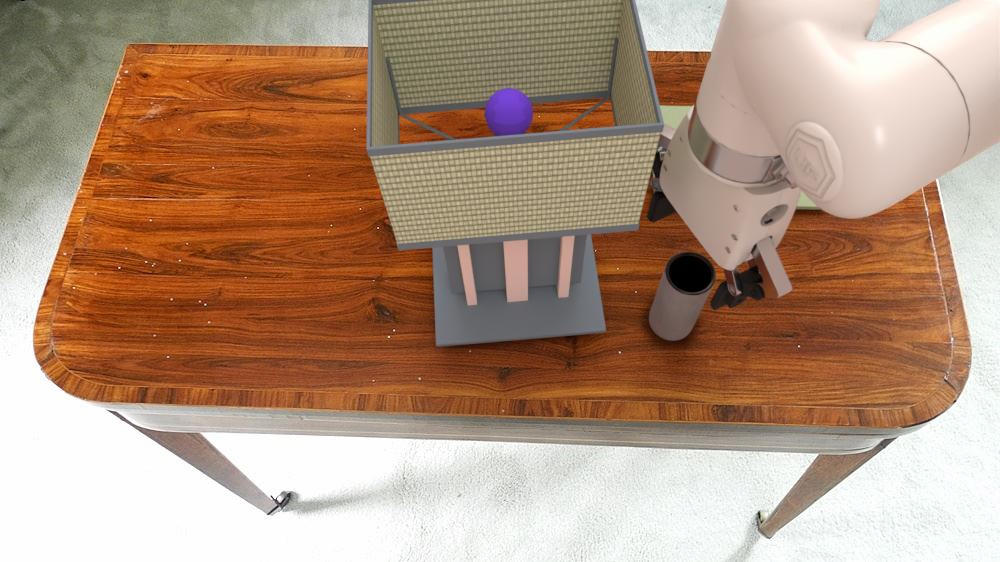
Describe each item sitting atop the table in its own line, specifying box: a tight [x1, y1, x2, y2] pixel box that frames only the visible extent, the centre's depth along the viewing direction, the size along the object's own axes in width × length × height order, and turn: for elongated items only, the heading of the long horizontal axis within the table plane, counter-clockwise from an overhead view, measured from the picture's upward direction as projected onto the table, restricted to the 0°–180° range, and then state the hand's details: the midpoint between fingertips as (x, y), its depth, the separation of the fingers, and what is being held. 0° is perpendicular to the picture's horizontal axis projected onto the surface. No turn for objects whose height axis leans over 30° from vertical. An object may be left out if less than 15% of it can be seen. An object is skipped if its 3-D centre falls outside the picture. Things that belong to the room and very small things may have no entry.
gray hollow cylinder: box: [648, 250, 717, 342], centre depth 69 cm, size 4×4×10 cm
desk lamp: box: [366, 0, 664, 348], centre depth 62 cm, size 18×14×33 cm
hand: (693, 256), depth 63 cm, fingers open, 9 cm apart
